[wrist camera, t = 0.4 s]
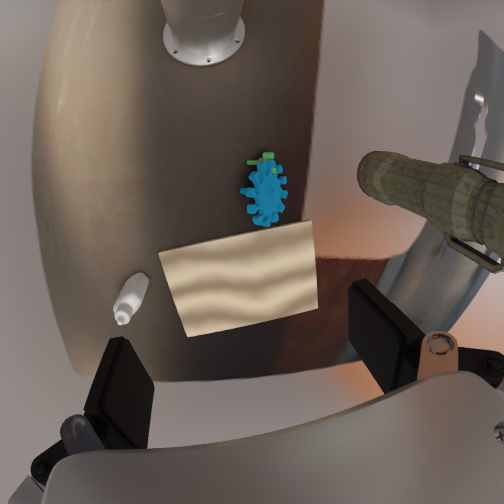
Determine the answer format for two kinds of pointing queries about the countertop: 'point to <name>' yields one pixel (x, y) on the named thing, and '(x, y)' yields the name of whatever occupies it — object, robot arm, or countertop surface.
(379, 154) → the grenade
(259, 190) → the gear
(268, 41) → the countertop surface
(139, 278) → the eye dropper bottle
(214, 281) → the beige flat sheet
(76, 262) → the countertop surface
